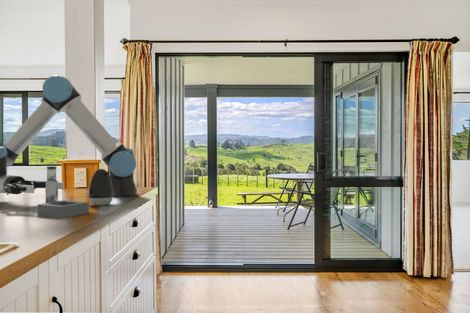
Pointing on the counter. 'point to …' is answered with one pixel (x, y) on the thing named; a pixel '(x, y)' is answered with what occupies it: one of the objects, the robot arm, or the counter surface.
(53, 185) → the tube
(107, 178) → the dark grey egg shape
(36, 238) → the counter surface
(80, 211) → the socket block
